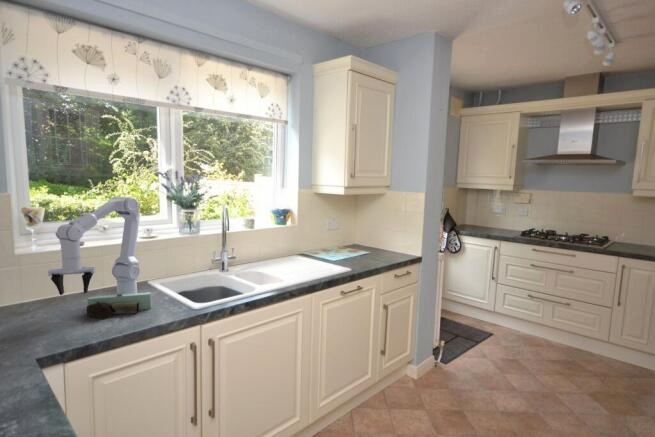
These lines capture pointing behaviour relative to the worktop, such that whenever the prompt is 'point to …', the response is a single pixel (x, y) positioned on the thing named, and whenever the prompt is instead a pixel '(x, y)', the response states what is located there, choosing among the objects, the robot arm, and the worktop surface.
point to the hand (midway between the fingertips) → (73, 293)
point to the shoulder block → (124, 299)
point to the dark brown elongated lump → (111, 309)
